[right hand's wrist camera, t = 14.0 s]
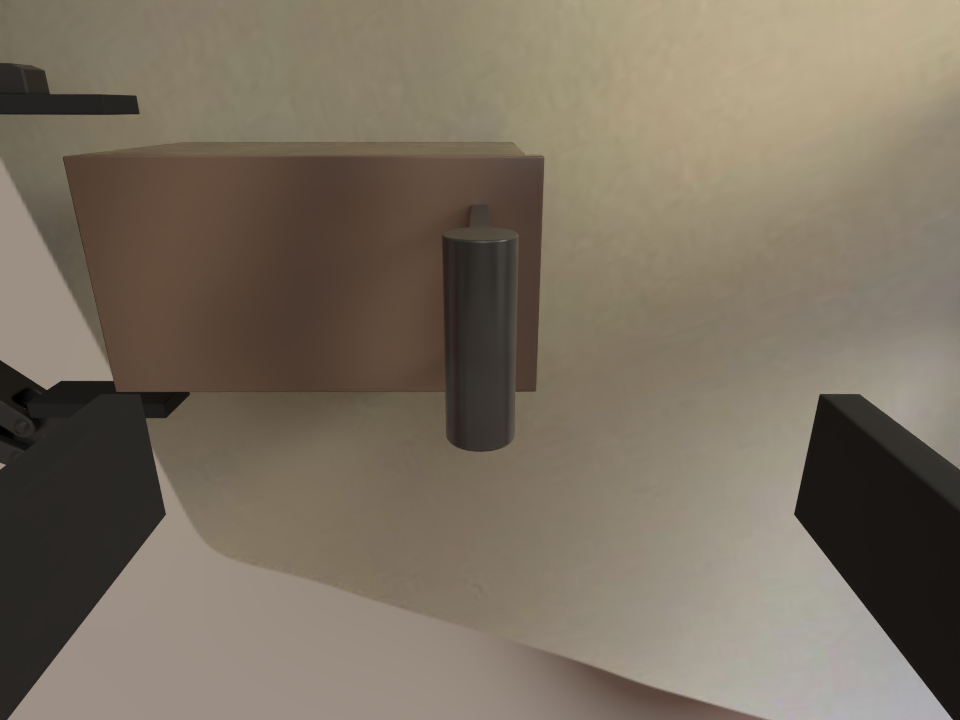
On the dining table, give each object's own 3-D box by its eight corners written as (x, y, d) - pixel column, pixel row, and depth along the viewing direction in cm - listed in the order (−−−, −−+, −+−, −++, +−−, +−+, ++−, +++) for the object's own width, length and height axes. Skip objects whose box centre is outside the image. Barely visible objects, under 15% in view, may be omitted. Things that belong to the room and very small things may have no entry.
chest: (513, 142, 33) (526, 154, 24) (510, 317, 37) (520, 382, 28) (183, 142, 33) (77, 154, 24) (211, 317, 37) (127, 383, 28)
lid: (541, 154, 24) (574, 178, 16) (534, 383, 28) (557, 497, 20) (77, 154, 24) (-127, 177, 16) (127, 383, 28) (-20, 498, 20)
